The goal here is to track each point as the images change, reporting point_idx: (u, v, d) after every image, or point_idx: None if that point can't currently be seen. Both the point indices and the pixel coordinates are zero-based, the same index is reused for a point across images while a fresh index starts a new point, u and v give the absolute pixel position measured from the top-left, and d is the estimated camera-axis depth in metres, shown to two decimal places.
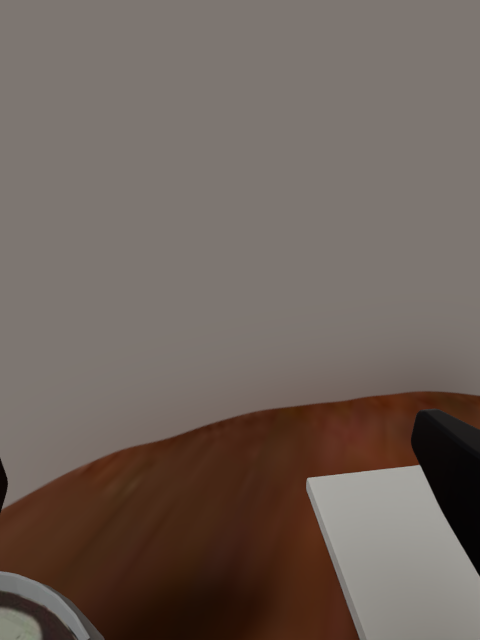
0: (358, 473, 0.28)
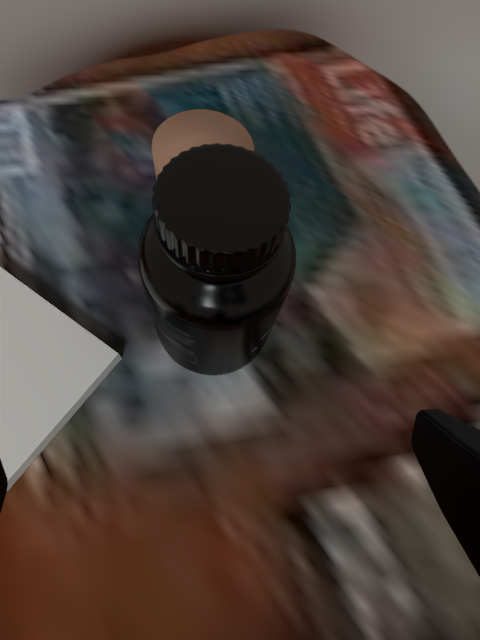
0: None
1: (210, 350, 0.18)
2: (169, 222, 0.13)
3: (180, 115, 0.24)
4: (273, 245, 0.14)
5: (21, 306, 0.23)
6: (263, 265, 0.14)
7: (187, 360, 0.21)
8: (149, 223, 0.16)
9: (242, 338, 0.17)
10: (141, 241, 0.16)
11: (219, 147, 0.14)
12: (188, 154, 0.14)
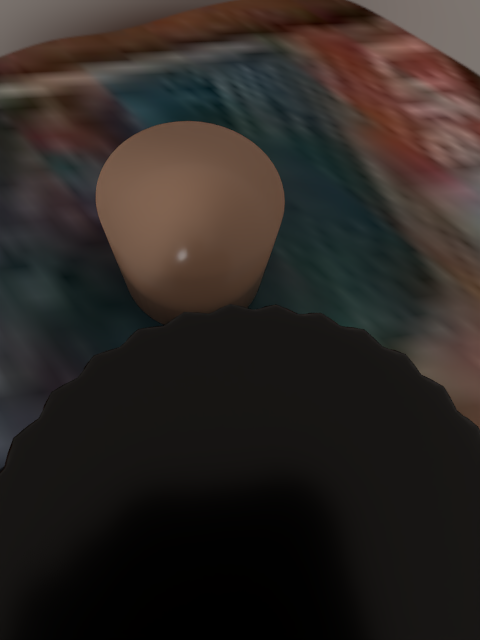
0: None
1: None
2: None
3: (148, 133, 0.13)
4: None
5: None
6: None
7: None
8: None
9: None
10: None
11: (241, 326, 0.04)
12: (121, 370, 0.04)
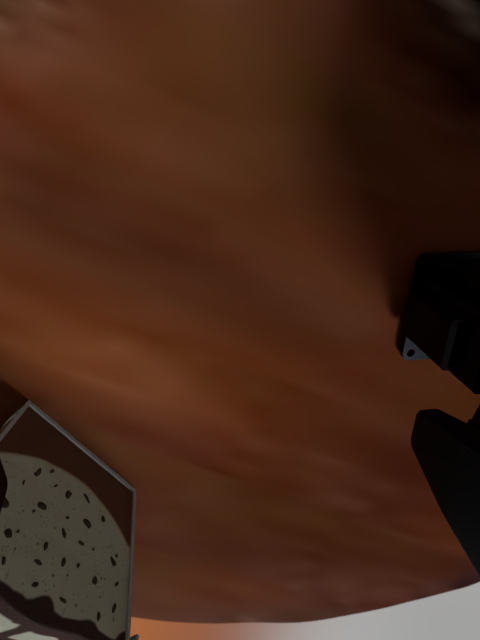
0: None
1: None
2: None
3: None
4: None
5: None
6: None
7: None
8: None
9: None
10: None
11: None
12: None
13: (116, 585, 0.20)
